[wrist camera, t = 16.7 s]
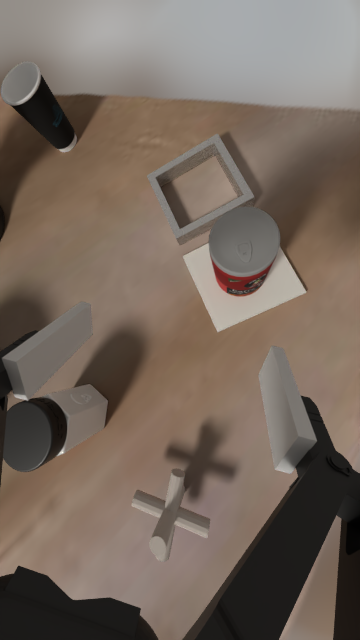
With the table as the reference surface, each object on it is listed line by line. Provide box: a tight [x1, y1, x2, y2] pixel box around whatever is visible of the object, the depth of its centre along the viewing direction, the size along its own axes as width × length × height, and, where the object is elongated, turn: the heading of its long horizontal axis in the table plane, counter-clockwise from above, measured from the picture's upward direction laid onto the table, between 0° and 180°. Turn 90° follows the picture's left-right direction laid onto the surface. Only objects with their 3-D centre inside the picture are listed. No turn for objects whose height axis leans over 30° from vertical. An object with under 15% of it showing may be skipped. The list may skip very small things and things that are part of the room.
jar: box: [3, 384, 108, 472], centre depth 33 cm, size 9×8×12 cm
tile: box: [183, 243, 306, 332], centre depth 35 cm, size 14×14×1 cm
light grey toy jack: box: [132, 469, 210, 562], centre depth 28 cm, size 10×10×10 cm
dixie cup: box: [1, 62, 77, 152], centre depth 42 cm, size 8×8×11 cm
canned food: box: [209, 207, 280, 297], centre depth 29 cm, size 8×8×11 cm
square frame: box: [147, 133, 254, 245], centre depth 37 cm, size 13×13×2 cm
